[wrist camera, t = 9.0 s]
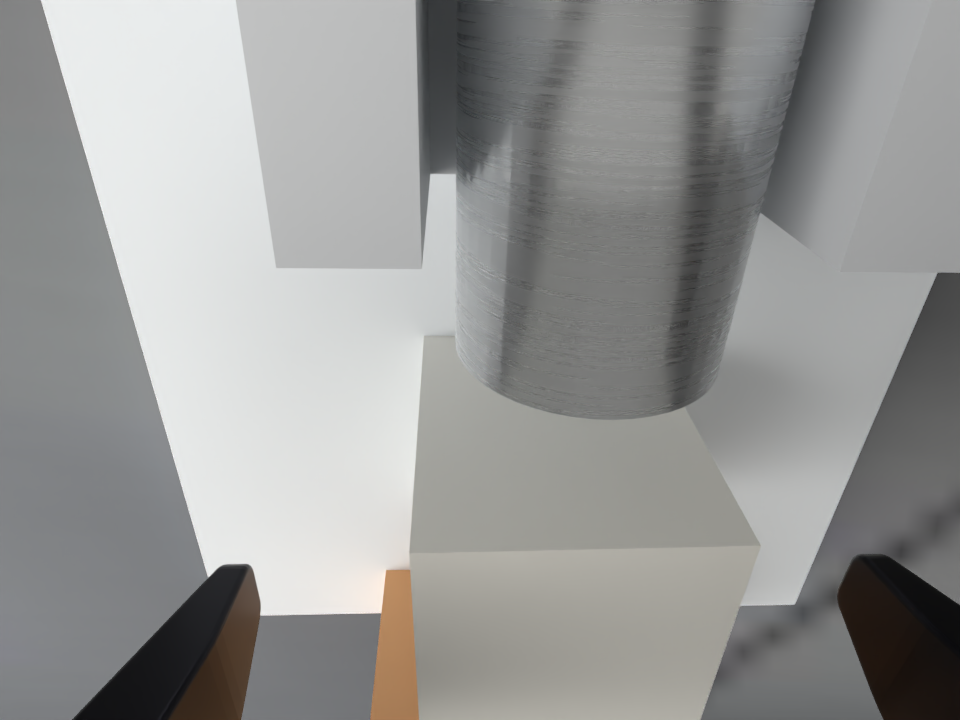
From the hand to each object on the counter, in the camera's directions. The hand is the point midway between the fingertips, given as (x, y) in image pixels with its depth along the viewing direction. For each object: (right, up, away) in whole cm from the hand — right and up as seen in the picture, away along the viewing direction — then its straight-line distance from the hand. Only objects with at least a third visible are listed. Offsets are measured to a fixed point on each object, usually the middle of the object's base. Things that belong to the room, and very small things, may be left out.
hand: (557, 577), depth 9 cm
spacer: (0, +2, +3) cm, 4 cm away
